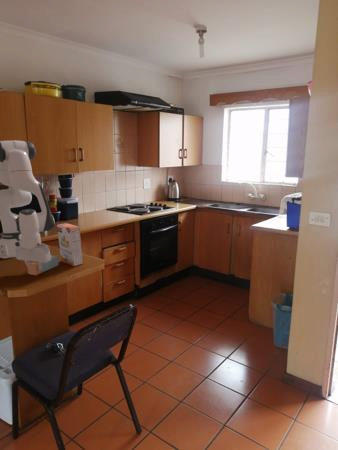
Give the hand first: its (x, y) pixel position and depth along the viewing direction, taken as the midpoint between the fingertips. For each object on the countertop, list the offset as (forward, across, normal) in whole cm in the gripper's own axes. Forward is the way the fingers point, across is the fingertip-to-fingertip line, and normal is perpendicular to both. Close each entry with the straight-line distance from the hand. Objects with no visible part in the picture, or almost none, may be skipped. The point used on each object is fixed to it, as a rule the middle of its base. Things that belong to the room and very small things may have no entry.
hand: (34, 269), depth 174 cm
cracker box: (+2, -7, -19) cm, 21 cm away
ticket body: (+2, 0, -8) cm, 9 cm away
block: (+2, 0, 0) cm, 2 cm away
